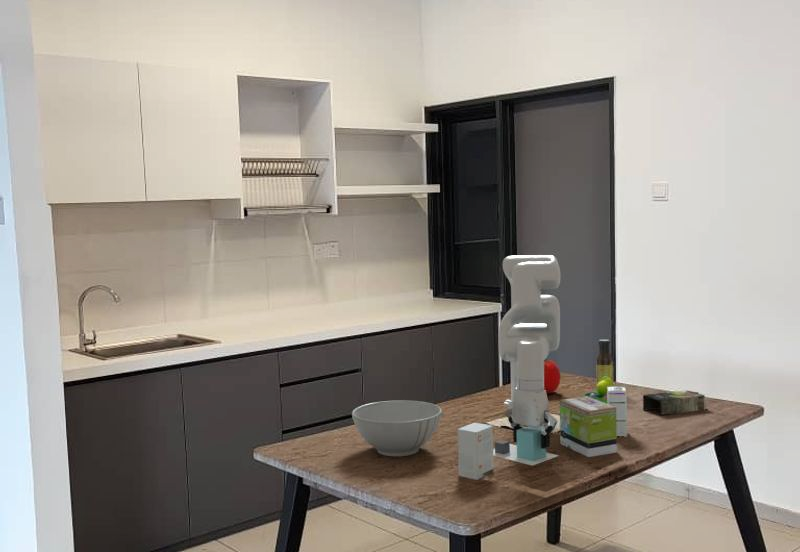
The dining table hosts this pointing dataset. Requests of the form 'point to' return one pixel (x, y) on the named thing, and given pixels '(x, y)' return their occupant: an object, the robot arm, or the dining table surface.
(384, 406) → the decorative bowl
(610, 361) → the sauce bottle
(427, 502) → the dining table surface
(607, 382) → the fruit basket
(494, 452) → the board
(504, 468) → the dining table surface
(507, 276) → the robot arm
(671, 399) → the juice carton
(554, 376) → the tomato
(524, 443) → the teal rectangular block
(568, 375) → the dining table surface
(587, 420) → the tea box
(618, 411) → the syrup box
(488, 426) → the small box
